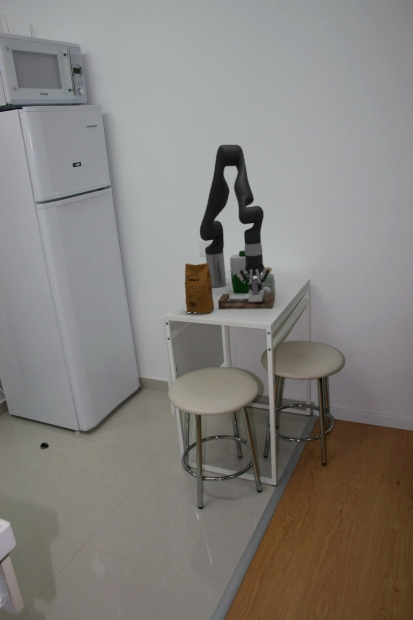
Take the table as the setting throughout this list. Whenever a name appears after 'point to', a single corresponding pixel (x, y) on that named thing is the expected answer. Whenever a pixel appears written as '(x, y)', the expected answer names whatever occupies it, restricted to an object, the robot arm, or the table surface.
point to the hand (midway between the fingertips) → (256, 290)
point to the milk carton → (237, 280)
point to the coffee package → (198, 288)
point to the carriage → (255, 292)
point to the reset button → (268, 273)
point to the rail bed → (246, 302)
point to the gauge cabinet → (268, 285)
